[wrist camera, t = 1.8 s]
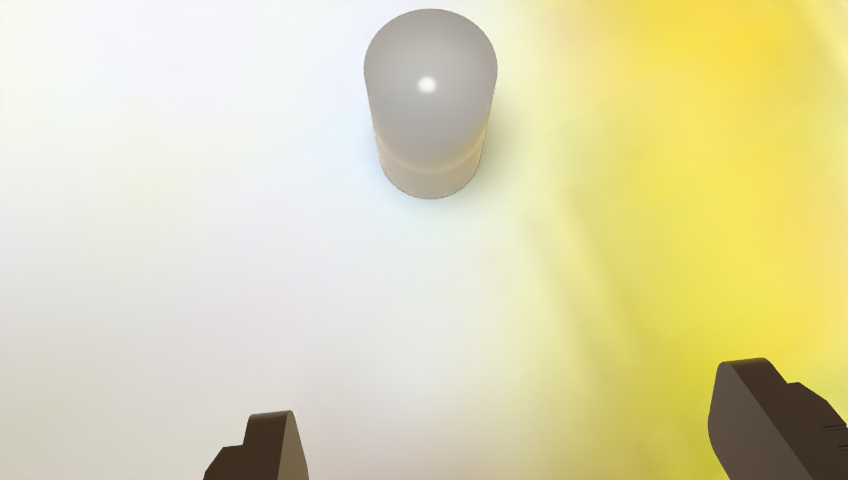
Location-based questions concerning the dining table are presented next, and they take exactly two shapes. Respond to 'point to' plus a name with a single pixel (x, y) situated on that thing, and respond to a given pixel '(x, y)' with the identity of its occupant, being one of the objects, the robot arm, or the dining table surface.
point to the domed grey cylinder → (430, 99)
